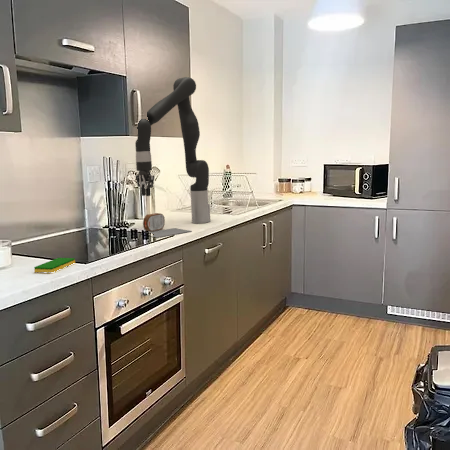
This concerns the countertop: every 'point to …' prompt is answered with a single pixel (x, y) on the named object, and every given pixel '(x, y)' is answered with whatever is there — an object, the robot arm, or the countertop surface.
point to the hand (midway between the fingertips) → (145, 195)
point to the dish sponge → (54, 265)
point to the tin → (153, 222)
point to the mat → (169, 232)
